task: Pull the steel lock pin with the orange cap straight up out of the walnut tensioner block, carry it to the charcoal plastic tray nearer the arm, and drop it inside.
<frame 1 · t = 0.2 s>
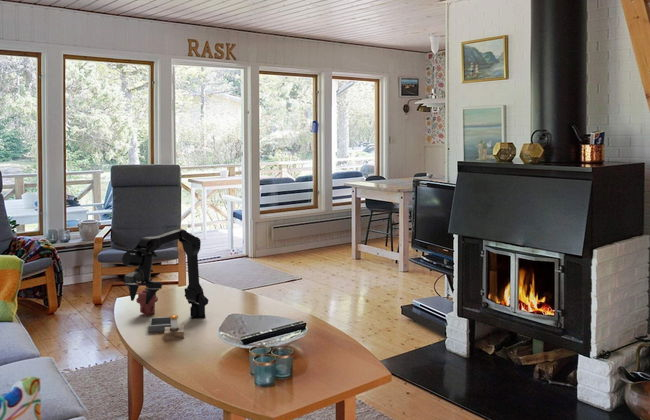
hand: (139, 302, 257), 15 cm above the table, tool pointing down, fingers open, 9 cm apart
tray: (163, 327, 270), on the table
tensioner block: (174, 336, 259), on the table
lock pin: (174, 326, 258), in the tensioner block
mechanical component: (147, 314, 290), on the table
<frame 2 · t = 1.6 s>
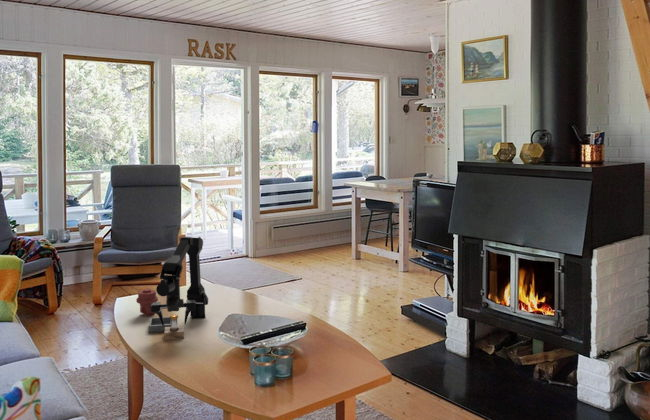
hand: (174, 325, 258), 5 cm above the table, tool pointing down, fingers open, 9 cm apart
nothing on the table moved.
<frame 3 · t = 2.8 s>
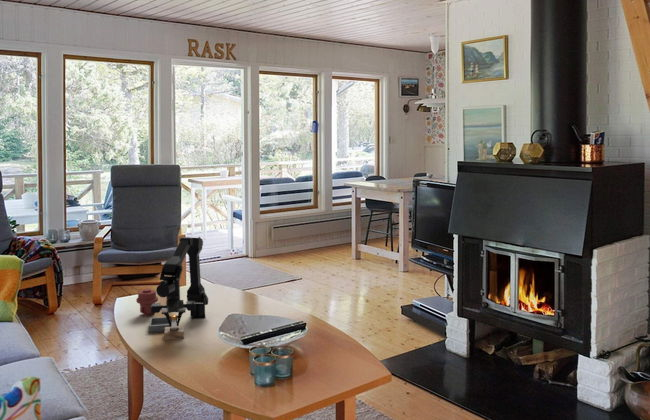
hand: (174, 326, 258), 5 cm above the table, tool pointing down, fingers closed on lock pin, 3 cm apart
lock pin: (174, 326, 258), in the tensioner block, touching gripper
everything else where it was.
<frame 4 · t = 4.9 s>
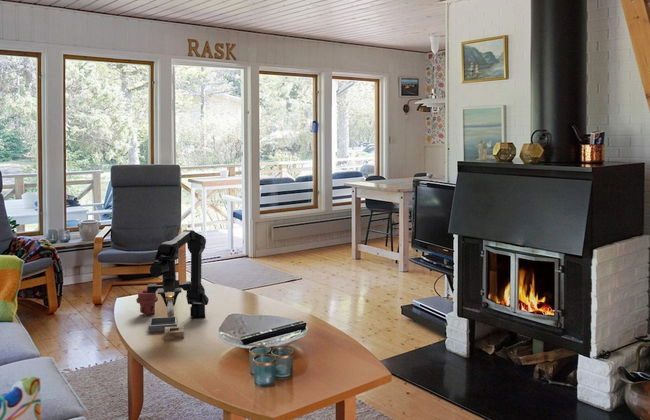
hand: (170, 306, 261), 12 cm above the table, tool pointing down, fingers closed on lock pin, 3 cm apart
lock pin: (170, 306, 261), point 12 cm above the table, touching gripper
everything else where it was.
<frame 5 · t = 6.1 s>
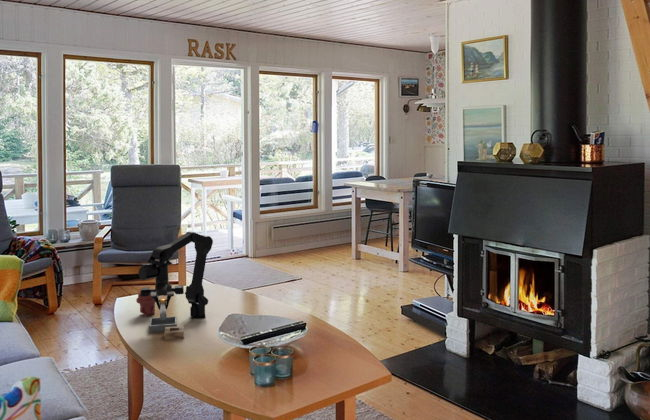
hand: (163, 309, 269), 9 cm above the table, tool pointing down, fingers closed on lock pin, 3 cm apart
lock pin: (163, 309, 269), point 8 cm above the table, touching gripper
everything else where it was.
when the fingers open (7 cm above the table, at t = 7.1 s): lock pin drops 1 cm, resting on tray.
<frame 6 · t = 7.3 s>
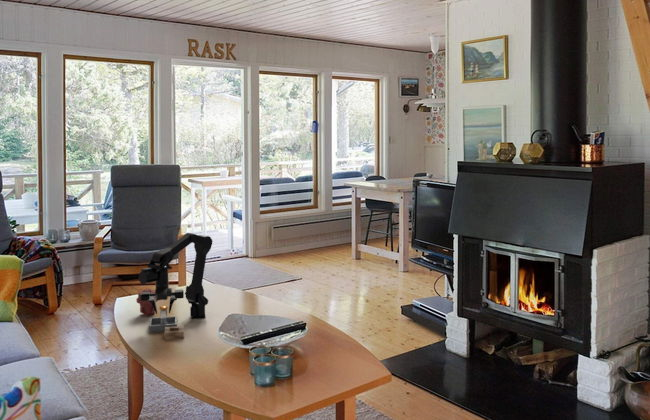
hand: (163, 313, 269), 7 cm above the table, tool pointing down, fingers open, 5 cm apart
lock pin: (163, 316, 270), in the tray, point 5 cm above the table
everything else where it was.
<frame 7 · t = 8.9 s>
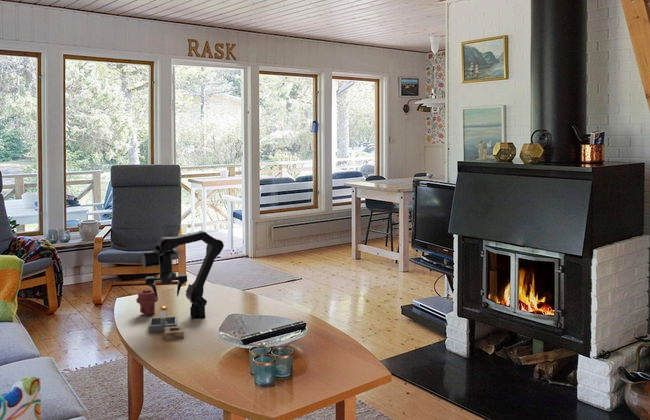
hand: (167, 297, 277), 12 cm above the table, tool pointing down, fingers open, 9 cm apart
nothing on the table moved.
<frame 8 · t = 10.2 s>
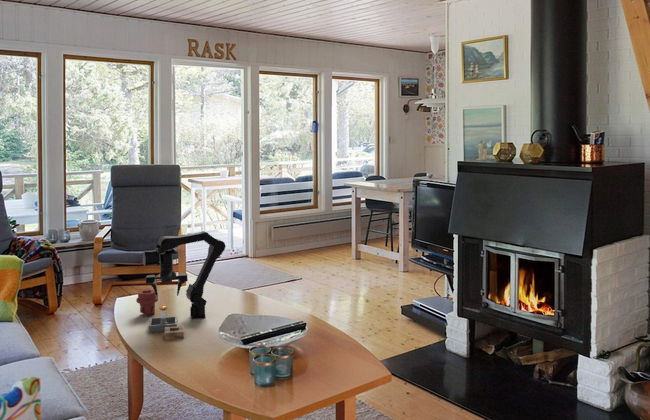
hand: (167, 296, 278), 12 cm above the table, tool pointing down, fingers open, 9 cm apart
nothing on the table moved.
at the end: lock pin inside the target area on the tray (0.2 cm from its centre), point 5.1 cm above the tray's base; the gripper is holding nothing; lock pin moved 13.9 cm from its start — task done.
